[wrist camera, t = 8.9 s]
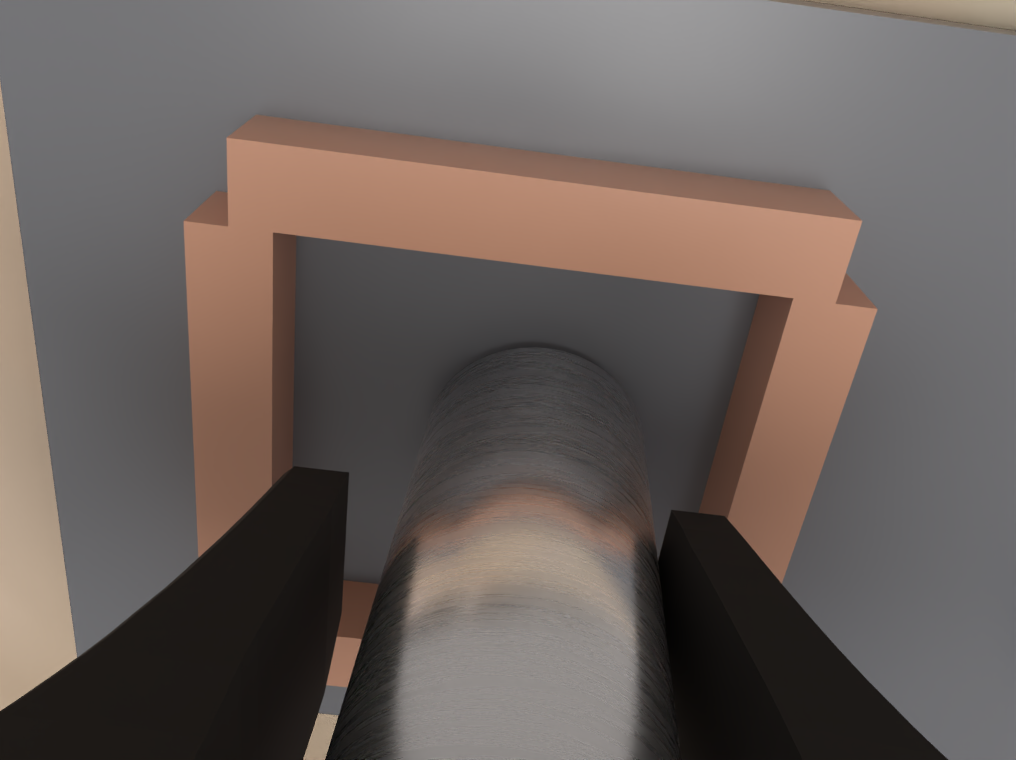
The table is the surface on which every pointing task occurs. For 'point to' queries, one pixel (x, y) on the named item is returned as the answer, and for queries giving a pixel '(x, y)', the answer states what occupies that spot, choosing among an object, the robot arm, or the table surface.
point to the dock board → (539, 285)
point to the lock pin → (519, 581)
